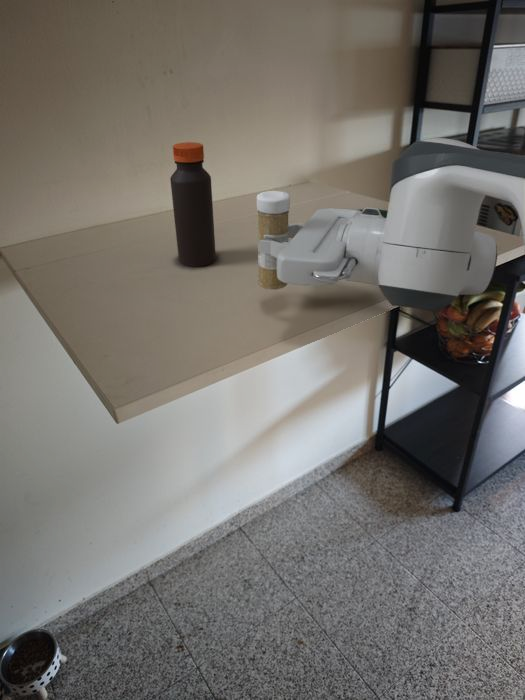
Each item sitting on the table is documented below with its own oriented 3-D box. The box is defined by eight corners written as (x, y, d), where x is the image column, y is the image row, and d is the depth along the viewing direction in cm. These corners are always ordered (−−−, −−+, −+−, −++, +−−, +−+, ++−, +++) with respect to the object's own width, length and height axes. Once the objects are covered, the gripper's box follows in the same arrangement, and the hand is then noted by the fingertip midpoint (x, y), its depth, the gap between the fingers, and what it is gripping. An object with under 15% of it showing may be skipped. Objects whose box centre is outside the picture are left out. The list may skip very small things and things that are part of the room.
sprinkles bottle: (259, 277, 77) (258, 189, 70) (289, 278, 77) (291, 190, 69) (256, 290, 73) (254, 199, 66) (287, 291, 73) (289, 200, 65)
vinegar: (223, 260, 92) (217, 145, 81) (193, 271, 88) (182, 151, 77) (201, 250, 96) (192, 139, 85) (171, 259, 92) (158, 145, 81)
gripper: (344, 305, 61) (240, 288, 65) (374, 245, 77) (288, 234, 81) (349, 256, 57) (238, 242, 61) (379, 204, 73) (289, 195, 77)
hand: (267, 237), depth 71 cm, fingers closed on sprinkles bottle, 4 cm apart
